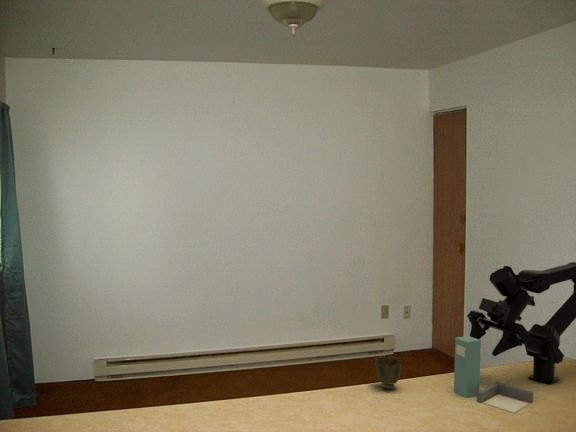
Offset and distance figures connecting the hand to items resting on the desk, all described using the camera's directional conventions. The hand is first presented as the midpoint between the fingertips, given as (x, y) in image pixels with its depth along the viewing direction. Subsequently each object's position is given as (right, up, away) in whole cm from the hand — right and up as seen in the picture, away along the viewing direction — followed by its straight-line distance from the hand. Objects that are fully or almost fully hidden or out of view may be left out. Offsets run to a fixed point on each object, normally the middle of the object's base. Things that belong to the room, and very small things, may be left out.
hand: (480, 350), depth 147 cm
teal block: (-4, -11, -1) cm, 12 cm away
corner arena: (+4, -12, -7) cm, 14 cm away
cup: (-25, -11, +2) cm, 27 cm away
